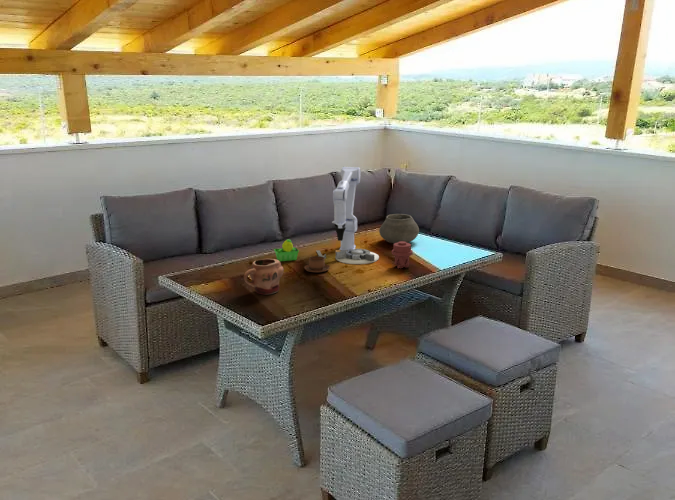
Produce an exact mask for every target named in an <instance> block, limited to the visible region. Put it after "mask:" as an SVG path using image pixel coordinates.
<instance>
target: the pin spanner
mask: <svg viewBox="0 0 675 500" xmlns="http://www.w3.org/2000/svg"><path fill="white" fill-rule="evenodd" d="M315 251H316V254H317V256H321V257H324V258H325V259H327V254H326V253H325V254H324V255H323V254H322V252H321V250H317V249H316V250H315Z"/></svg>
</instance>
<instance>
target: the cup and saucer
mask: <svg viewBox="0 0 675 500" xmlns="http://www.w3.org/2000/svg"><path fill="white" fill-rule="evenodd" d="M325 259H326V258H324V257H321V256H318V255H317V256H314V255H313V256H311V257H308V262H309V263H308V264H305V265H304V270H306V272H310V273H316V274H317V273H323V272H326V271H328V270H329V269H330V265H329V264H326V262H325Z"/></svg>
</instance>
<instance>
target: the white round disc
mask: <svg viewBox="0 0 675 500" xmlns="http://www.w3.org/2000/svg"><path fill="white" fill-rule="evenodd" d="M362 250H363V249H362ZM362 250H353V251H351V254H356V255H361V254H363V251H362ZM335 260H336V261H337V262H339V263H342V264H347V265H348V264H349V265H366V264H372V263H375V262H377V261H378V260H380V256H379V254H377V252H376V253H375V252H373V251H370V253H366V254H365V259H360V260H357V259H348V258H340V259H336V258H335Z"/></svg>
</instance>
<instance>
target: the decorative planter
mask: <svg viewBox="0 0 675 500" xmlns="http://www.w3.org/2000/svg"><path fill="white" fill-rule="evenodd" d="M284 270H285V269H284V267H283V266H282V263H281V261H279V260H278V259H277V258H276V259H275V258H263V259H257V260H254V261H253V262H252V264H251V268H250V269H248V270H247V271H245V272H244V275H243V281H244V282H245V283H246V284H247V285H248V286H250V287H253V288H254V291H255V292H256V294H259V295H266V296H267V295H273V294H275V293H278V292H279V291H280V279H281V278H282V276H283V275H284ZM248 277H250V279H251V282H250V281H249V280H248Z"/></svg>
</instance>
